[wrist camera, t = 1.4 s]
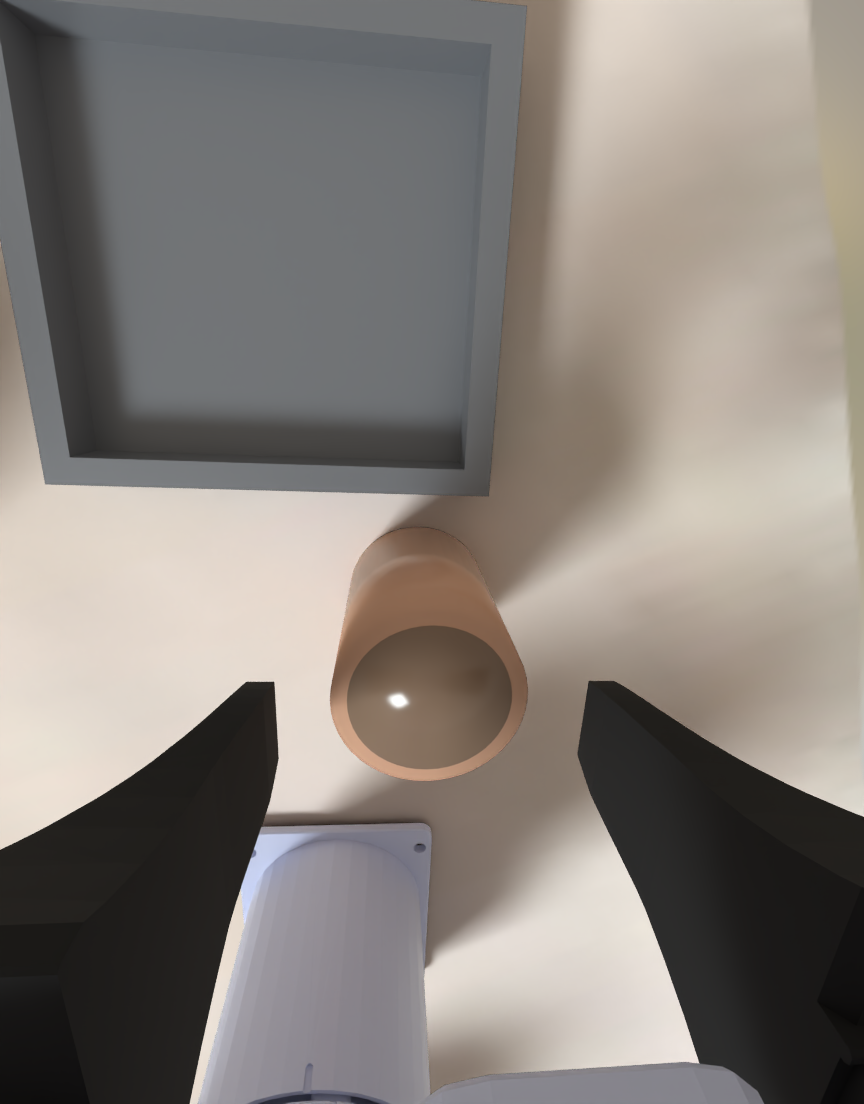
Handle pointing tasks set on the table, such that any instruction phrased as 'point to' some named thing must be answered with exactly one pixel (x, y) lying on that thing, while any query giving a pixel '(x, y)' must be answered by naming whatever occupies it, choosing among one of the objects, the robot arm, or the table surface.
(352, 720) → the terracotta cup
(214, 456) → the charcoal tray
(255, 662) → the table surface
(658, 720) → the robot arm
